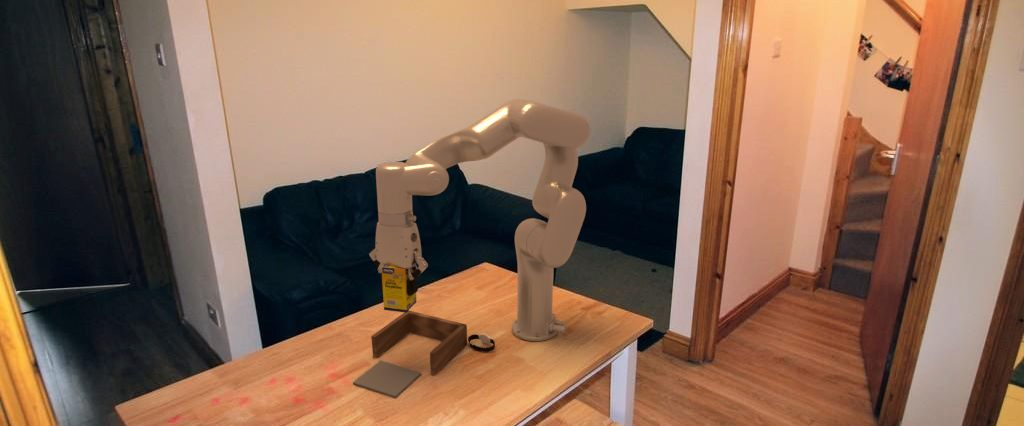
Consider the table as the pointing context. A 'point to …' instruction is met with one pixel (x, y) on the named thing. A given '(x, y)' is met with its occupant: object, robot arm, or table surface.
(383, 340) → the open box
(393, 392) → the mat
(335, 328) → the table surface
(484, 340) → the watch
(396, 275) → the supplement box
